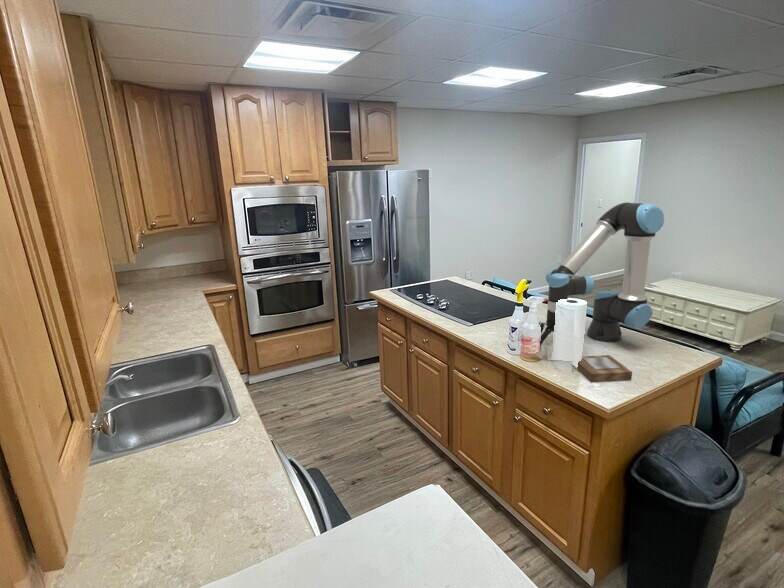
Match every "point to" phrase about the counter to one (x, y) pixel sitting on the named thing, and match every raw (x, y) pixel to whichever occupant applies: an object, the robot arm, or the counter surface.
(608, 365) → the walnut base
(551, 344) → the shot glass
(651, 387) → the counter surface
